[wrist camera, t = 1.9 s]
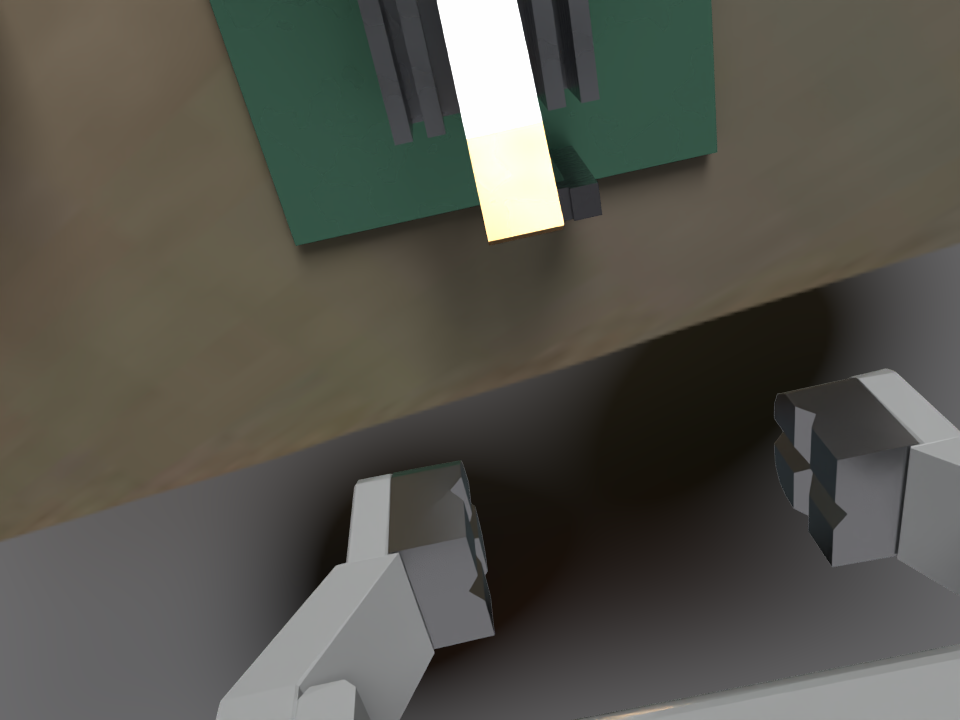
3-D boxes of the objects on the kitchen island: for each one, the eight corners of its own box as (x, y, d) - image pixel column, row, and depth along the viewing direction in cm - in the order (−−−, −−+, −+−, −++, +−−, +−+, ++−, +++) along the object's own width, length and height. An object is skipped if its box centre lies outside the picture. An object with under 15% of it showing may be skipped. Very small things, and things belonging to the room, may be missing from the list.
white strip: (479, 248, 23) (478, 242, 21) (383, -201, 23) (375, -238, 21) (571, 228, 23) (575, 221, 21) (474, -224, 22) (472, -262, 21)
